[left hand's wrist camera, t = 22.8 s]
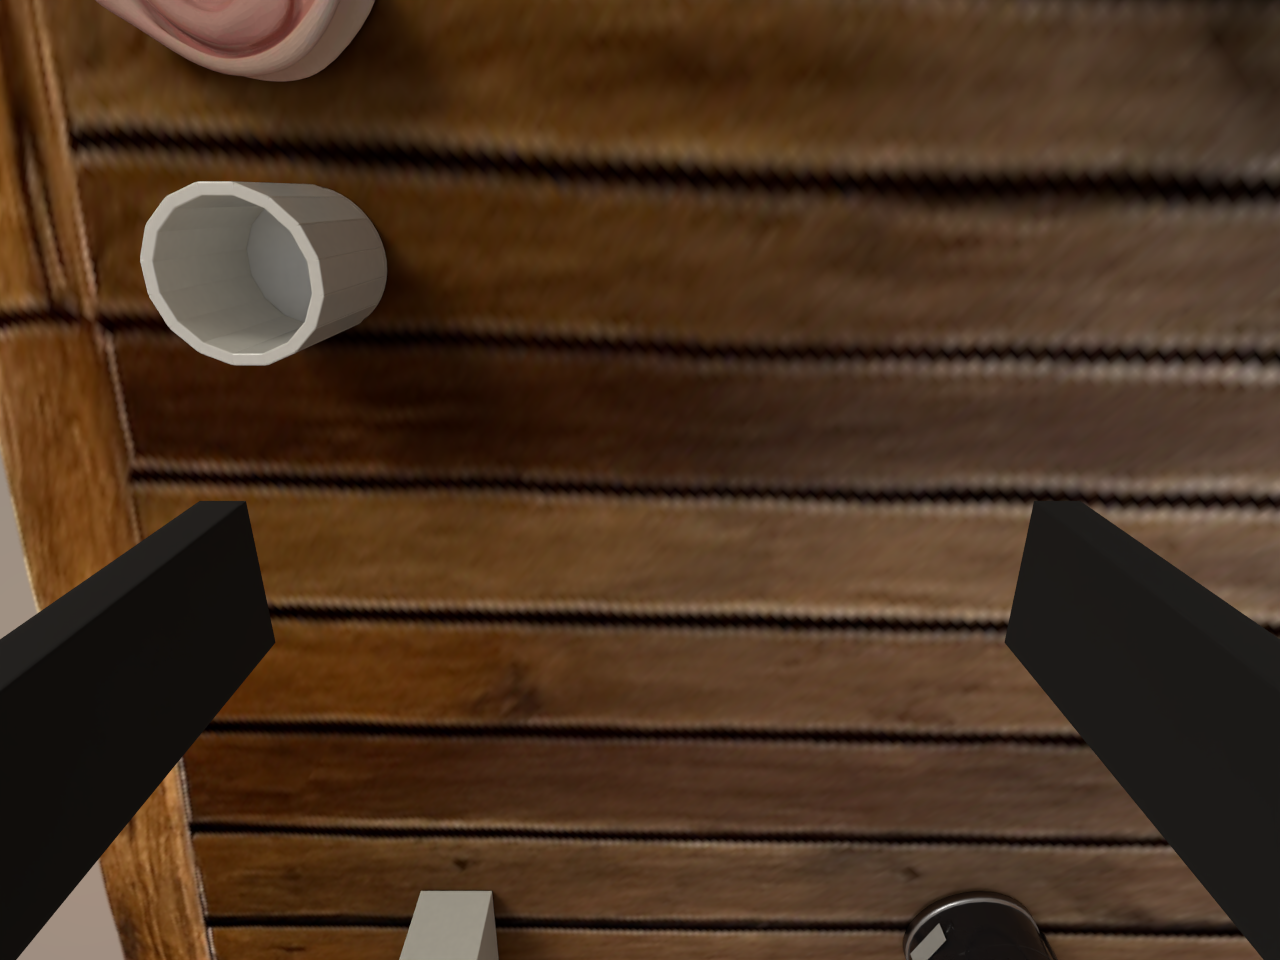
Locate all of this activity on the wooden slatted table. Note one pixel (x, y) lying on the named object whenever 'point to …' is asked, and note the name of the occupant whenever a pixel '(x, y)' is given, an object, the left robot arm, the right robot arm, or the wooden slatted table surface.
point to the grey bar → (452, 927)
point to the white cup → (261, 267)
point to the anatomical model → (250, 32)
